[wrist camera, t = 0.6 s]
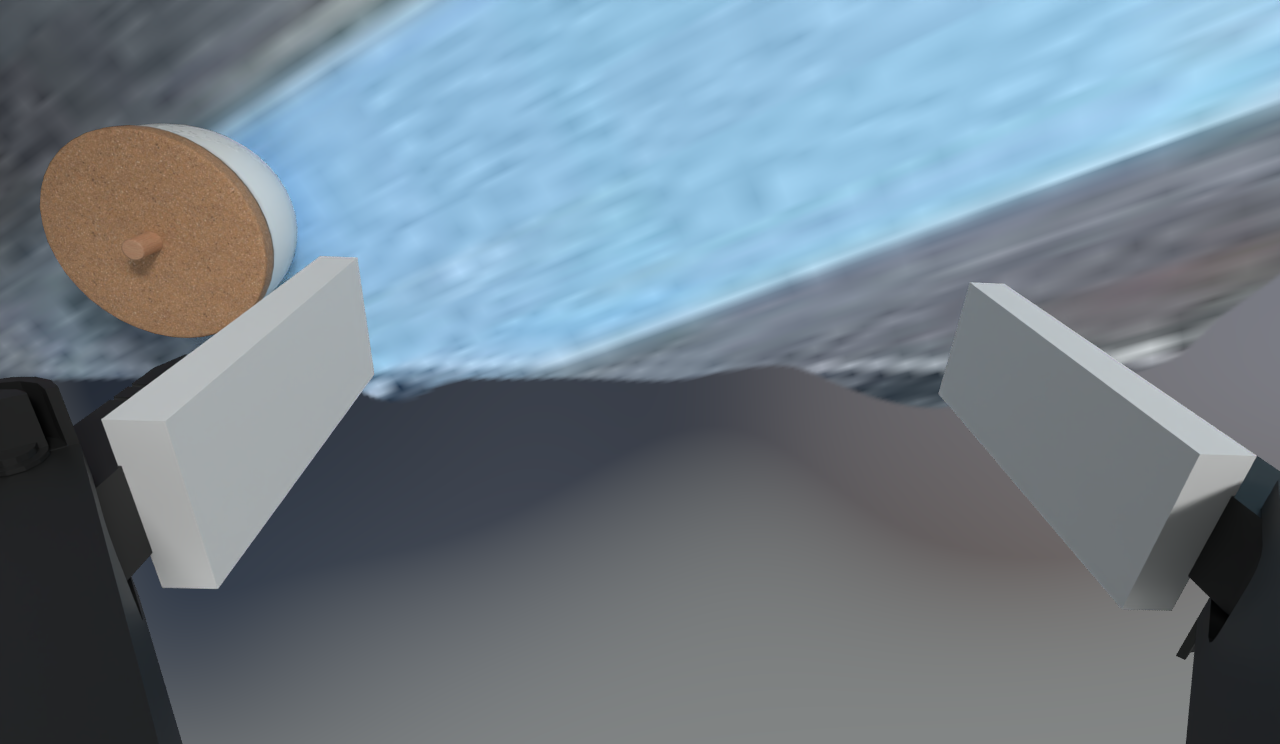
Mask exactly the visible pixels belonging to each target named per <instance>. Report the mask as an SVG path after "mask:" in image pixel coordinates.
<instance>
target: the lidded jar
mask: <svg viewBox="0 0 1280 744" xmlns="http://www.w3.org/2000/svg"><path fill="white" fill-rule="evenodd" d="M40 211H41V217H42V223H43V227H44V230H45V234H46V237H47V240H48V243H49V245H50V247H51V249H52V251H53V253H54V255H55V257H56V258H57V260H58V262H59V263H60V265H61V266H62V268H63V270H64V271H65V273H66V274H67V275H68V276H69V277H70V278H71V280H72V281H73V282H74V283H75V284H76V286H77V287H78V288H79V289H80V290H81V291H82V292H83V293H84V294H85V295H87V296H88V297H89V298H90V299H91V300H92V301H93V302H95V303H96V304H97V305H99V306H100V307H101V308H103V309H104V310H105V311H107V312H108V313H110V314H112V315H113V316H115V317H117V318H118V319H120V320H122V321H124V322H126V323H128V324H130V325H133V326H135V327H137V328H140V329H143V330H146V331H149V332H152V333H155V334H160V335H165V336H170V337H181V338H194V337H204V336H209V335H213V334H216V333H218V332H219V331H220V330H222V329H223V328H224V327H226V326H227V325H229V324H230V323H231V322H233V321H234V320H235V319H237V318H238V317H239V316H241V315H242V314H243V313H245V312H246V311H247V310H249V309H250V308H251V307H253V306H254V305H255V304H257V303H258V302H259V301H261V300H262V299H263V298H265V297H266V296H267V295H269V294H270V293H271V292H273V291H274V290H275V289H276V287H277V286H278V285H279V284H280V282H281V281H282V279H283V278H284V276H285V275H286V273H287V271H288V269H289V267H290V265H291V262H292V260H293V257H294V254H295V249H296V244H297V221H296V214H295V211H294V208H293V205H292V201H291V199H290V197H289V195H288V193H287V191H286V189H285V187H284V186H283V184H282V182H281V181H280V179H279V178H278V176H277V175H276V174H275V173H274V172H273V170H272V169H271V168H270V167H269V166H268V165H267V164H266V163H265V162H264V161H263V160H262V159H261V158H260V157H259V156H258V155H256V154H255V153H253V152H252V151H251V150H249V149H248V148H247V147H245V146H243V145H241V144H240V143H238V142H236V141H234V140H232V139H230V138H228V137H227V136H224V135H221V134H219V133H216V132H214V131H211V130H207V129H202V128H198V127H193V126H188V125H180V124H163V123H156V124H144V125H125V126H114V127H106V128H102V129H98V130H94V131H91V132H87V133H85V134H83V135H81V136H79V137H77V138H75V139H73V140H71V141H70V142H69V143H67V144H66V145H65V146H64V147H63V148H61V149H60V150H59V151H58V153H57V154H56V155H55V157H54V158H53V159H52V161H51V162H50V164H49V166H48V168H47V171H46V173H45V175H44V179H43V183H42V187H41V198H40Z"/></svg>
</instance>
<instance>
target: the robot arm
mask: <svg viewBox="0 0 1280 744" xmlns="http://www.w3.org/2000/svg"><path fill="white" fill-rule="evenodd" d="M373 375H374V369H373V362H372V355H371V348H370V342H369V335H368V328H367V321H366V314H365V307H364V300H363V294H362V287H361V280H360V273H359V266H358V259H357V258H354V257H330V256H320V257H318V258H317V259H316V260H314V261H313V262H312V263H310V264H309V265H308V266H306V267H305V268H304V269H302V270H301V271H300V272H298V273H297V274H296V275H294V276H293V277H292V278H290V279H289V280H288V281H286V282H285V283H284V284H282V285H281V286H279V287H278V288H277V289H275V290H274V291H273V292H271V293H270V294H269V295H267V296H266V297H265V298H263V299H262V300H261V301H259V302H258V303H257V304H255V305H254V306H253V307H251V308H250V309H249V310H247V311H246V312H245V313H243V314H242V315H241V316H239V317H238V318H237V319H235V320H234V321H233V322H231V323H230V324H229V325H227V326H226V327H224V328H223V329H222V330H220V331H219V332H218V333H216V334H215V335H214V336H212V337H211V338H210V339H208V340H207V341H206V342H204V343H203V344H202V345H200V346H199V347H198V348H196V349H195V350H194V351H192V352H191V353H190V354H188V355H183V356H181V357H179V358H176V359H174V360H171V361H169V362H167V363H164V364H162V365H160V366H157V367H155V368H153V369H152V370H150V371H149V372H148V373H146V374H145V375H143V376H142V377H141V378H139V379H138V380H136V381H135V382H134V383H132V387H127V388H125V389H124V390H123V391H121V392H120V393H119V394H117V395H116V396H115V397H114V400H109V401H107V402H106V403H105V404H103V405H102V406H100V407H99V408H98V409H96V410H95V411H93V412H92V413H91V414H89V415H88V416H87V417H85V418H84V419H82V420H81V421H79V422H78V423H77V424H75V425H74V426H73V425H72V422H71V420H70V417H69V414H68V412H67V409H66V406H65V404H64V401H63V399H62V396H61V393H60V391H59V388H58V386H57V385H56V384H54V383H53V382H52V381H51V380H48V379H43V378H38V377H10V378H3V379H0V744H182V741H181V737H180V734H179V731H178V727H177V724H176V720H175V717H174V714H173V710H172V707H171V704H170V700H169V697H168V694H167V690H166V686H165V683H164V680H163V676H162V673H161V670H160V666H159V663H158V659H157V656H156V653H155V650H154V646H153V642H152V639H151V636H150V632H149V629H148V625H147V622H146V619H145V615H144V612H143V608H142V605H141V602H140V599H139V595H138V592H137V590H136V587H135V585H134V582H133V579H132V577H131V576H132V575H133V574H134V573H135V571H136V570H137V569H138V568H139V567H140V566H141V565H142V564H143V563H144V562H145V561H146V559H147V558H148V557H149V556H150V555H151V558H152V561H153V563H154V566H155V569H156V571H157V574H158V577H159V580H160V583H161V585H162V587H163V588H206V589H218V588H219V586H220V585H221V584H222V582H223V581H224V580H225V578H226V577H227V575H228V574H229V573H230V571H231V570H232V568H233V567H234V566H235V565H236V563H237V562H238V560H239V559H240V558H241V556H242V555H243V553H244V552H245V550H246V549H247V548H248V547H249V545H250V544H251V543H252V541H253V540H254V538H255V537H256V536H257V534H258V533H259V532H260V530H261V529H262V528H263V526H264V525H265V523H266V522H267V521H268V519H269V518H270V517H271V515H272V514H273V512H274V511H275V510H276V508H277V507H278V505H279V504H280V503H281V501H282V500H283V499H284V497H285V496H286V494H287V493H288V492H289V490H290V489H291V488H292V486H293V485H294V484H295V482H296V481H297V480H298V478H299V477H300V475H301V474H302V472H303V471H304V470H305V469H306V467H307V466H308V464H309V463H310V462H311V460H312V459H313V458H314V456H315V455H316V453H317V452H318V450H319V449H320V448H321V446H322V445H323V444H324V443H325V441H326V440H327V438H328V437H329V436H330V434H331V433H332V431H333V430H334V428H335V427H336V426H337V425H338V423H339V422H340V421H341V419H342V418H343V416H344V415H345V414H346V412H347V411H348V410H349V408H350V407H351V405H352V404H353V403H354V401H355V400H356V398H357V397H358V396H359V395H360V393H361V392H362V390H363V389H364V388H365V386H366V385H367V384H368V382H369V381H370V379H371V378H372V377H373ZM939 395H940V396H941V397H942V398H943V400H944V401H945V402H946V403H947V404H948V405H949V407H950V408H951V409H952V410H953V411H954V413H955V414H956V415H957V416H958V417H959V418H960V420H961V421H962V422H963V423H964V424H965V425H966V427H967V428H968V429H969V430H970V431H971V433H972V434H973V435H974V436H975V437H976V438H977V439H978V441H979V442H980V443H981V444H982V446H983V447H984V448H985V449H986V450H987V451H988V453H989V454H990V455H991V456H992V457H993V458H994V460H995V461H996V462H997V463H998V464H999V466H1000V467H1001V468H1002V469H1003V470H1004V471H1005V473H1006V474H1007V475H1008V476H1009V477H1010V478H1011V480H1012V481H1013V482H1014V483H1015V484H1016V486H1017V487H1018V488H1019V489H1020V490H1021V491H1022V493H1023V494H1024V495H1025V496H1026V497H1027V498H1028V500H1029V501H1030V502H1031V503H1032V504H1033V506H1034V507H1035V508H1036V509H1037V510H1038V511H1039V513H1040V514H1041V515H1042V516H1043V517H1044V519H1045V520H1046V521H1047V522H1048V523H1049V524H1050V526H1051V527H1052V528H1053V529H1054V530H1055V531H1056V533H1057V534H1058V535H1059V536H1060V537H1061V539H1062V540H1063V541H1064V542H1065V543H1066V545H1067V546H1068V547H1069V548H1070V549H1071V550H1072V552H1073V553H1074V554H1075V555H1076V556H1077V557H1078V559H1079V560H1080V561H1081V562H1082V563H1083V565H1085V567H1086V568H1087V569H1088V570H1089V572H1090V573H1091V574H1092V575H1093V576H1094V577H1095V579H1096V580H1097V581H1098V582H1099V583H1100V585H1101V586H1102V587H1103V588H1104V589H1105V590H1106V592H1107V593H1108V594H1109V595H1110V596H1111V597H1112V599H1113V600H1114V601H1115V602H1116V603H1117V605H1118V606H1119V607H1120V608H1121V609H1123V610H1166V611H1167V610H1169V611H1172V609H1173V607H1174V605H1175V604H1176V602H1177V600H1178V598H1179V597H1180V595H1181V593H1182V591H1183V589H1184V587H1185V586H1186V584H1187V582H1188V580H1189V578H1191V579H1192V580H1193V581H1194V582H1195V583H1196V584H1197V585H1198V586H1199V587H1200V588H1201V589H1202V590H1203V591H1204V592H1205V593H1206V594H1207V595H1208V596H1209V597H1210V598H1209V599H1208V602H1207V603H1206V605H1205V607H1204V608H1203V610H1202V612H1201V613H1200V615H1199V617H1198V618H1197V620H1196V622H1195V624H1194V625H1193V627H1192V629H1191V631H1190V632H1189V634H1188V636H1187V638H1186V639H1185V641H1184V643H1183V645H1182V646H1181V648H1180V650H1179V651H1178V653H1177V655H1176V656H1178V657H1180V658H1182V659H1184V660H1185V659H1186V658H1187V657H1188V655H1189V653H1190V652H1194V662H1193V674H1192V685H1191V694H1190V706H1189V716H1188V726H1187V738H1186V744H1280V471H1278V470H1277V469H1275V468H1274V467H1273V466H1271V465H1269V464H1268V463H1267V462H1265V461H1264V460H1262V459H1261V458H1259V457H1258V456H1257V455H1255V454H1254V453H1252V452H1251V451H1249V450H1248V449H1246V448H1245V447H1243V446H1242V445H1240V444H1239V443H1237V442H1236V441H1234V440H1233V439H1231V438H1230V437H1229V436H1227V435H1226V434H1224V433H1222V432H1221V431H1220V430H1218V429H1217V428H1215V427H1214V426H1212V425H1211V424H1210V423H1208V422H1207V421H1205V420H1203V419H1202V418H1201V417H1199V416H1198V415H1196V414H1195V413H1193V412H1192V411H1190V410H1189V409H1187V408H1186V407H1185V406H1183V405H1182V404H1180V403H1179V402H1177V401H1176V400H1174V399H1173V398H1171V397H1170V396H1168V395H1167V394H1165V393H1164V392H1162V391H1161V390H1159V389H1158V388H1156V387H1155V386H1154V385H1152V384H1151V383H1149V382H1148V381H1146V380H1145V379H1143V378H1142V377H1140V376H1139V375H1137V374H1136V373H1134V372H1133V371H1132V370H1130V369H1129V368H1127V367H1126V366H1124V365H1123V364H1121V363H1120V362H1118V361H1117V360H1115V359H1114V358H1112V357H1111V356H1109V355H1108V354H1107V353H1105V352H1104V351H1102V350H1101V349H1099V348H1098V347H1096V346H1095V345H1093V344H1092V343H1090V342H1089V341H1087V340H1086V339H1085V338H1083V337H1082V336H1080V335H1079V334H1077V333H1076V332H1074V331H1073V330H1071V329H1070V328H1068V327H1067V326H1065V325H1064V324H1063V323H1061V322H1060V321H1058V320H1057V319H1055V318H1054V317H1052V316H1051V315H1049V314H1048V313H1046V312H1045V311H1043V310H1042V309H1040V308H1039V307H1038V306H1036V305H1035V304H1033V303H1032V302H1030V301H1029V300H1027V299H1026V298H1024V297H1023V296H1021V295H1020V294H1018V293H1017V292H1016V291H1014V290H1013V289H1011V288H1010V287H1008V286H1007V285H1005V284H994V283H970V284H969V287H968V291H967V295H966V298H965V302H964V305H963V309H962V312H961V316H960V319H959V323H958V326H957V330H956V334H955V337H954V341H953V344H952V348H951V351H950V355H949V358H948V362H947V365H946V369H945V373H944V376H943V380H942V383H941V387H940V390H939Z"/></svg>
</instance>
